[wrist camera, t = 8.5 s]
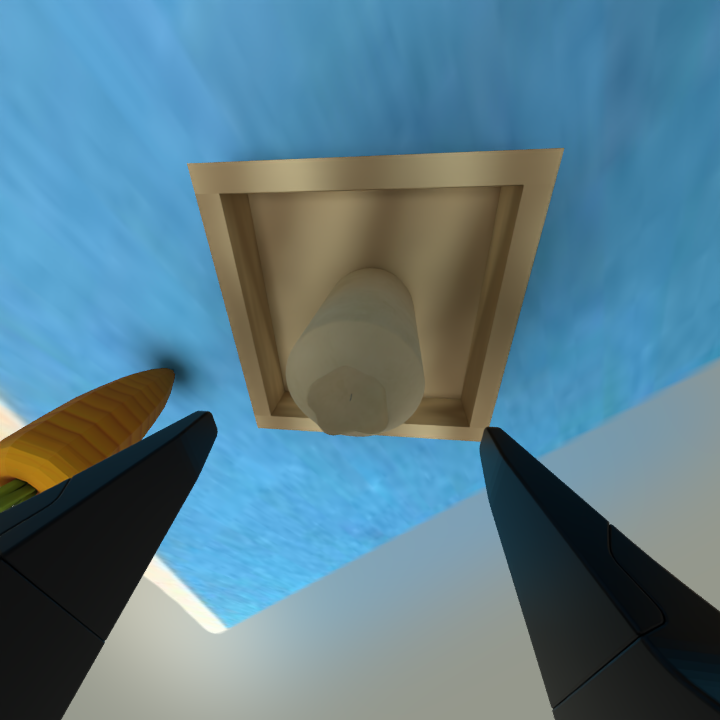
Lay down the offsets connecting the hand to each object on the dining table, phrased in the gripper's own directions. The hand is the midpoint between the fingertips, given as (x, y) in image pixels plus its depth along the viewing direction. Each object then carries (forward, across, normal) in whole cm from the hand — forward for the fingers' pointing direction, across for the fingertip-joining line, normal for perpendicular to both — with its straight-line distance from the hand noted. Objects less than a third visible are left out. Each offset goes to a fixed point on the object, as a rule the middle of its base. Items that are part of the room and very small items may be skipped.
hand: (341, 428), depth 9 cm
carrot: (+12, +17, +6) cm, 22 cm away
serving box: (+12, 0, 0) cm, 12 cm away
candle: (+11, 0, 0) cm, 11 cm away
